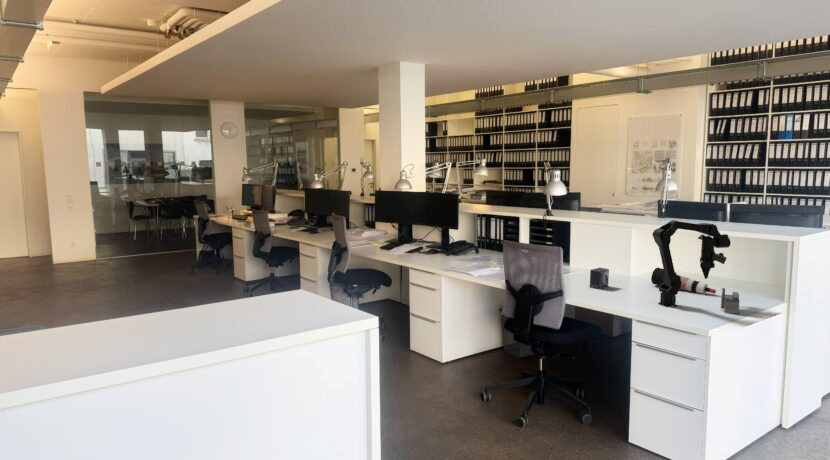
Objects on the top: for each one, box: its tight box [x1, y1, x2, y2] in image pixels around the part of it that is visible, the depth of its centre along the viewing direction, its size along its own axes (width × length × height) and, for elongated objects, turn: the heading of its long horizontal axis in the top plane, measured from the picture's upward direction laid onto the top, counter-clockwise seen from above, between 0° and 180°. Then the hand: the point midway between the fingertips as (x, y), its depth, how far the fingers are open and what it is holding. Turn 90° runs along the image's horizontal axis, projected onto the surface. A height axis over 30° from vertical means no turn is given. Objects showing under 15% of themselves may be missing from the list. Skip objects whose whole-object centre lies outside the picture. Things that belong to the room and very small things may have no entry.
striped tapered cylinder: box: [650, 267, 717, 295], centre depth 314 cm, size 10×34×10 cm, turn 39°
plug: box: [720, 287, 726, 312], centre depth 272 cm, size 6×4×11 cm
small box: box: [589, 267, 610, 290], centre depth 325 cm, size 11×6×10 cm, turn 131°
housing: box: [724, 291, 740, 315], centre depth 271 cm, size 6×10×9 cm, turn 154°
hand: (706, 278), depth 285 cm, fingers closed
